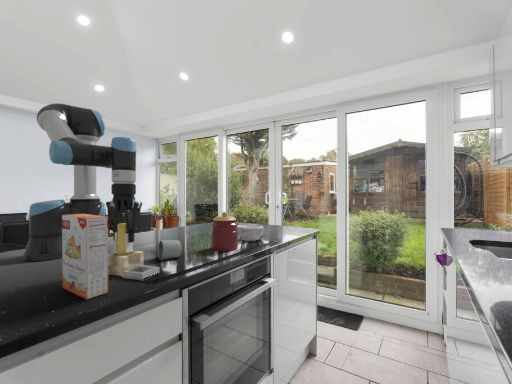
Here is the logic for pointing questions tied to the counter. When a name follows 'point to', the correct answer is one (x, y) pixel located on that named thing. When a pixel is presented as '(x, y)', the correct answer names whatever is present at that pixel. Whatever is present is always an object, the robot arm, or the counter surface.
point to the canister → (224, 233)
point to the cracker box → (85, 254)
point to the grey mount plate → (140, 272)
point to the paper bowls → (250, 232)
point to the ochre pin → (121, 239)
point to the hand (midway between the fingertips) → (123, 251)
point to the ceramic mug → (169, 249)
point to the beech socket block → (124, 262)
